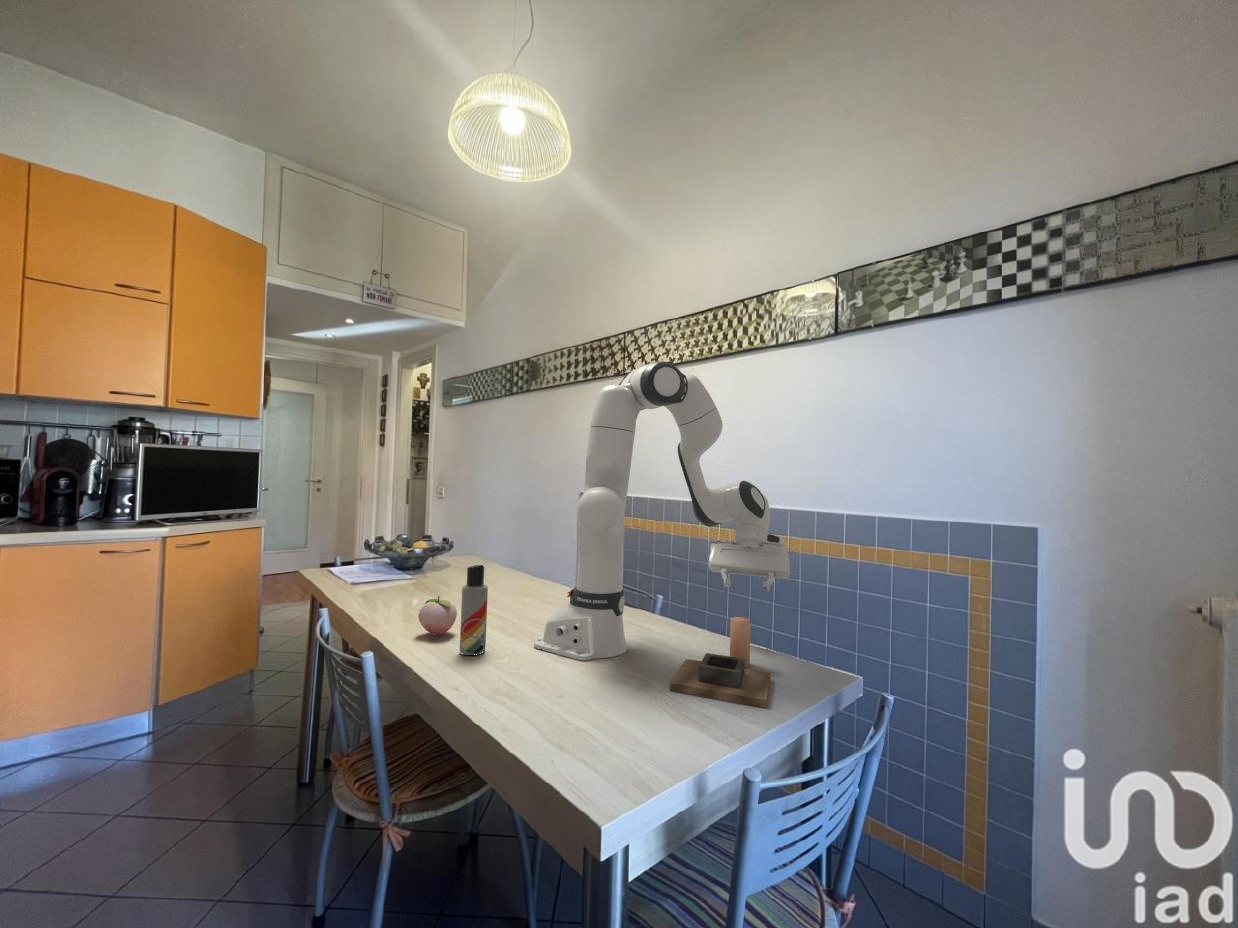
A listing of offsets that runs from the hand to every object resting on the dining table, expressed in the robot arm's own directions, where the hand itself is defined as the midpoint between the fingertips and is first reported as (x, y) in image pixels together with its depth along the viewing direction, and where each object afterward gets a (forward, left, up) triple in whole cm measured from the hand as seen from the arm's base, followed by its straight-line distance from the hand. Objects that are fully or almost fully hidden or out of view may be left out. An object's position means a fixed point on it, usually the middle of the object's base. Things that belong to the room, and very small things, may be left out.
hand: (746, 587), depth 121 cm
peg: (0, -11, -15) cm, 19 cm away
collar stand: (-2, -24, -15) cm, 29 cm away
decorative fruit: (-73, -24, -15) cm, 78 cm away
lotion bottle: (-58, -30, -15) cm, 67 cm away
